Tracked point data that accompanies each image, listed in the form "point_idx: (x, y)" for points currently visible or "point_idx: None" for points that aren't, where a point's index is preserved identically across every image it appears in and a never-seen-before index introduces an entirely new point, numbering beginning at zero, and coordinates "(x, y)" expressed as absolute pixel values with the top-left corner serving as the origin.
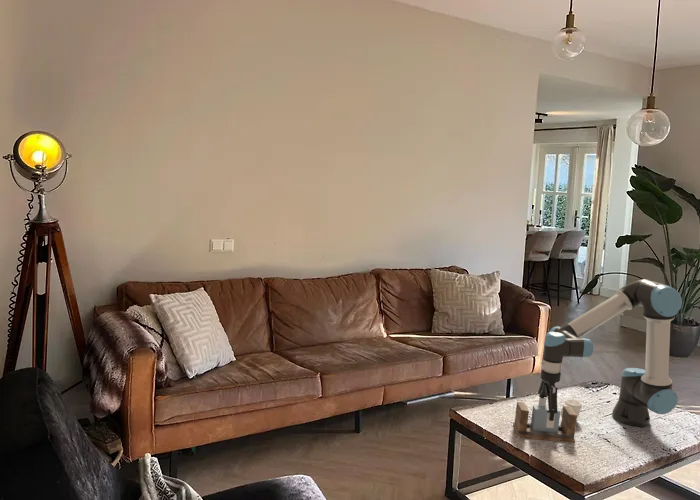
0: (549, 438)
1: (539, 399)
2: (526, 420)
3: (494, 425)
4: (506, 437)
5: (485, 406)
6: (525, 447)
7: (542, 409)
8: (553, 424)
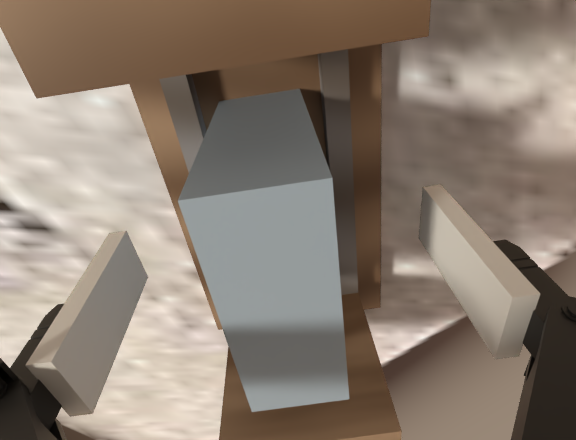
0: (379, 155)
1: (94, 396)
2: (376, 357)
3: None
4: (384, 340)
5: (62, 411)
6: None
7: (336, 354)
8: (456, 204)
